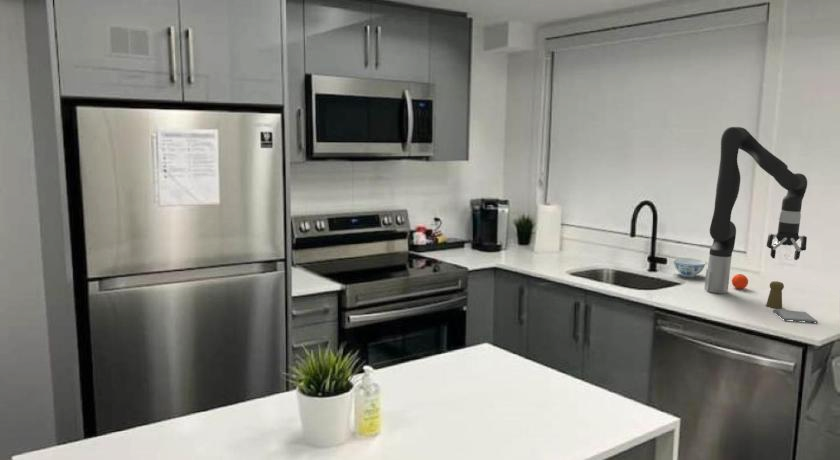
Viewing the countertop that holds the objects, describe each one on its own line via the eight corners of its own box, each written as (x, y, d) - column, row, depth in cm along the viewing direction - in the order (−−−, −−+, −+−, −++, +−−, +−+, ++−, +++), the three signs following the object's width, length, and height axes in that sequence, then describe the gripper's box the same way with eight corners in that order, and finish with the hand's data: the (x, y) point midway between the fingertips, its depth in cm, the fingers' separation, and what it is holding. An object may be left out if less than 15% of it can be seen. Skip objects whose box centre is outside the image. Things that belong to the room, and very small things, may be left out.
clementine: (733, 285, 292) (735, 271, 290) (749, 288, 287) (751, 273, 286) (729, 288, 286) (730, 274, 284) (745, 291, 281) (747, 276, 280)
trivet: (783, 321, 240) (783, 318, 240) (772, 311, 251) (773, 309, 251) (817, 323, 237) (817, 320, 237) (804, 314, 249) (805, 311, 249)
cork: (784, 309, 255) (787, 284, 253) (768, 308, 256) (772, 283, 254) (779, 305, 261) (782, 280, 259) (763, 304, 262) (766, 279, 260)
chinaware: (683, 270, 319) (684, 256, 317) (710, 277, 307) (711, 262, 305) (665, 274, 311) (667, 259, 309) (692, 281, 298) (694, 265, 297)
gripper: (773, 221, 251) (768, 259, 254) (811, 223, 248) (806, 262, 251) (768, 218, 258) (763, 255, 261) (805, 220, 255) (800, 258, 258)
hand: (784, 258), depth 256 cm, fingers open, 8 cm apart
